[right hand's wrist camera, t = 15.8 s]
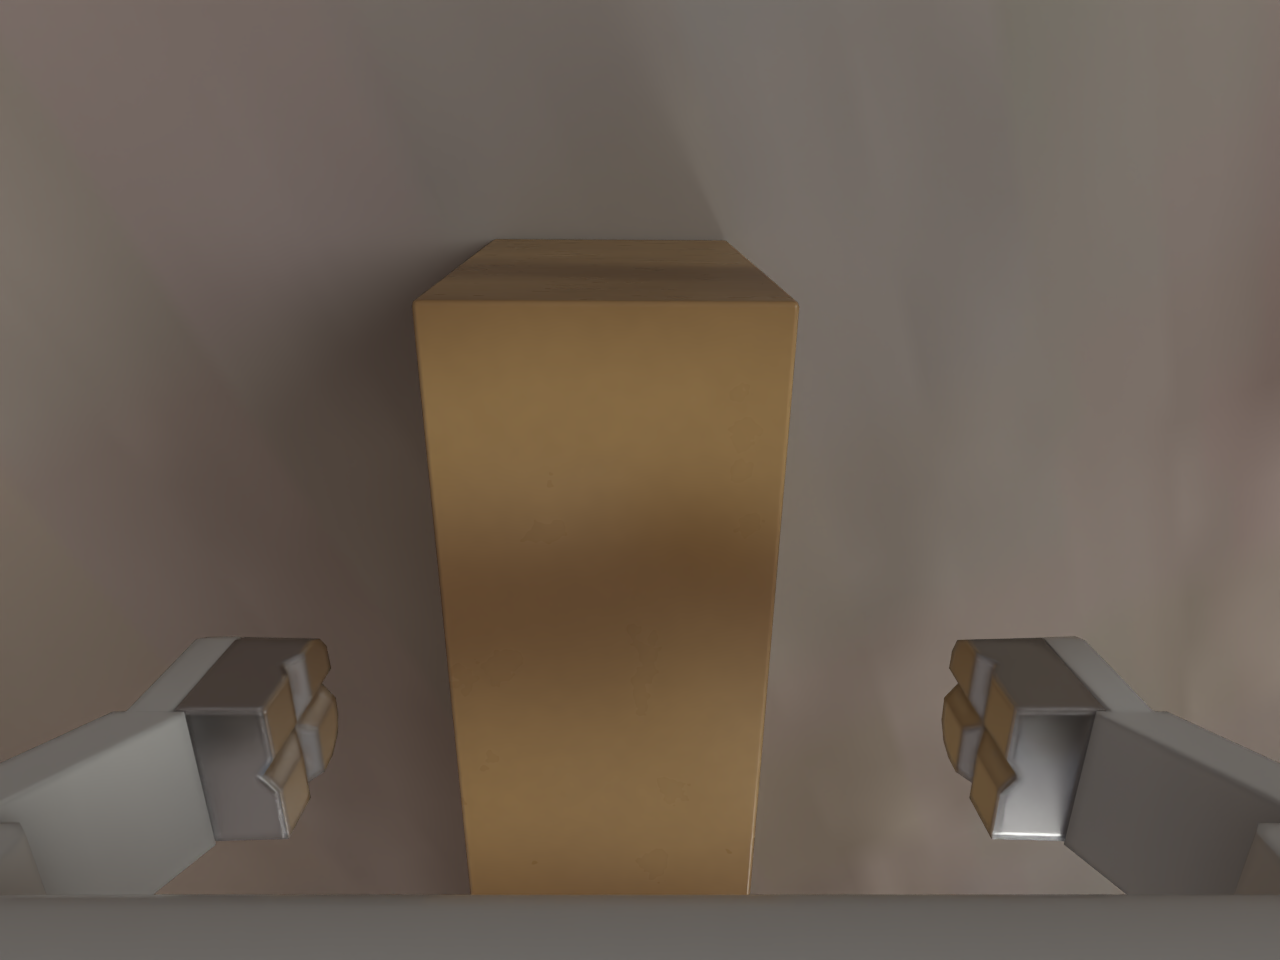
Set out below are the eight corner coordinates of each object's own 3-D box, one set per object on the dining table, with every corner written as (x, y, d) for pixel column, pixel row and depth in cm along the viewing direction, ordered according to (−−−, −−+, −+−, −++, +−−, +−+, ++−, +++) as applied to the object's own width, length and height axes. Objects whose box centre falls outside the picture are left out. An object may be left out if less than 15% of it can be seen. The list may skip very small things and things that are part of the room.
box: (492, 238, 21) (409, 300, 12) (727, 240, 21) (801, 301, 13) (535, 966, 31) (506, 1265, 23) (692, 963, 31) (720, 1258, 23)
